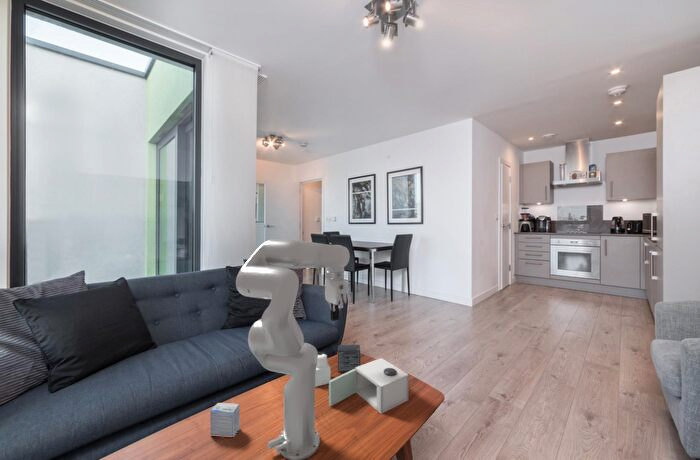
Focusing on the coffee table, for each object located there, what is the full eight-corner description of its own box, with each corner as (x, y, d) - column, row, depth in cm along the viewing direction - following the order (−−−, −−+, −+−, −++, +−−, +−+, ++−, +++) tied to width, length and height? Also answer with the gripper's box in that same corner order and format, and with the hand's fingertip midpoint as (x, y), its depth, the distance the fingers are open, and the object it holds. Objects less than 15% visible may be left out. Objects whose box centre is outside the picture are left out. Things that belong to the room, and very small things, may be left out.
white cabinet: (381, 413, 101) (381, 384, 100) (355, 391, 114) (355, 366, 113) (408, 399, 108) (408, 372, 108) (381, 380, 122) (381, 356, 121)
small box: (360, 365, 135) (360, 344, 134) (360, 372, 128) (360, 350, 128) (338, 365, 135) (338, 344, 134) (337, 372, 128) (337, 350, 128)
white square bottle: (309, 378, 123) (309, 351, 123) (325, 375, 126) (325, 348, 126) (314, 387, 117) (314, 359, 116) (330, 383, 120) (330, 355, 119)
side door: (327, 403, 105) (327, 379, 105) (352, 390, 114) (352, 367, 114) (330, 406, 104) (330, 382, 104) (356, 392, 113) (356, 369, 112)
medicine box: (240, 429, 93) (240, 403, 93) (233, 439, 89) (233, 412, 89) (218, 427, 94) (217, 402, 94) (210, 437, 90) (209, 410, 89)
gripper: (352, 277, 110) (352, 323, 110) (333, 271, 122) (333, 313, 123) (336, 279, 106) (336, 327, 106) (318, 273, 118) (318, 316, 118)
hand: (334, 319), depth 114 cm, fingers closed
